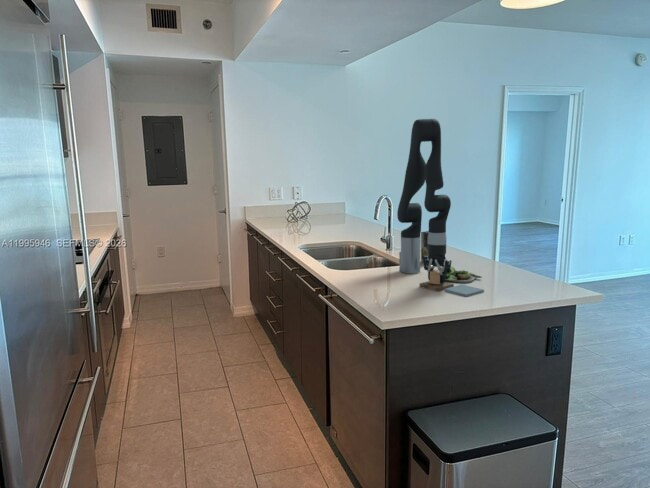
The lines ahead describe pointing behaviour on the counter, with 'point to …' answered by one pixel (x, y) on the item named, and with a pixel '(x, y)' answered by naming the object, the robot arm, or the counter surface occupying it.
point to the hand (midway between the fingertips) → (436, 281)
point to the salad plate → (460, 276)
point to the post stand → (436, 286)
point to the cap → (435, 277)
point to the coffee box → (424, 244)
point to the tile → (464, 290)
